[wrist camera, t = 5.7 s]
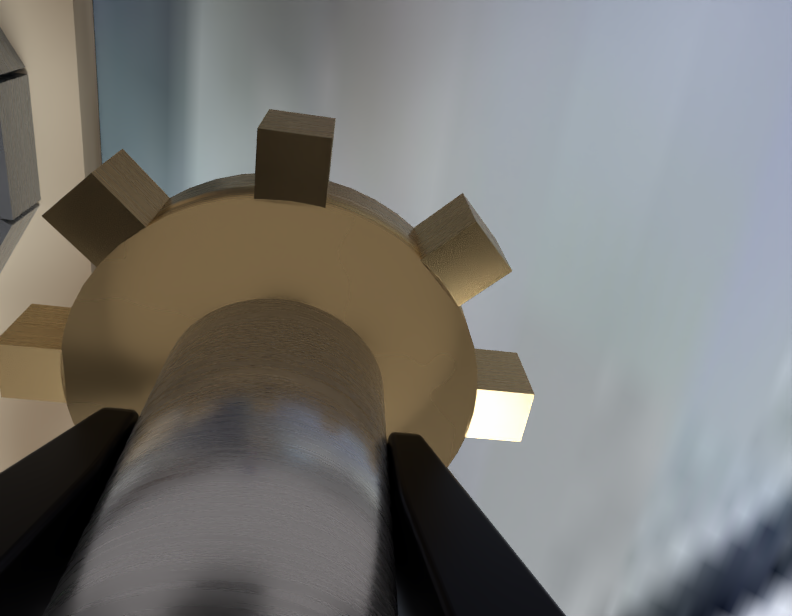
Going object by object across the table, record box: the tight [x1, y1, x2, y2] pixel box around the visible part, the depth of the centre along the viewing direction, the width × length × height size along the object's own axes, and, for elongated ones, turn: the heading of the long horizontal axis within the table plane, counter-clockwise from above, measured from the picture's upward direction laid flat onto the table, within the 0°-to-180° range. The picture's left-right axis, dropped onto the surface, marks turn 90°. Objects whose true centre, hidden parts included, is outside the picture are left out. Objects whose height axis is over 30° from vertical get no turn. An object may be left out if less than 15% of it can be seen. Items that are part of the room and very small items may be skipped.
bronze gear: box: [0, 109, 534, 616], centre depth 8 cm, size 8×8×6 cm
